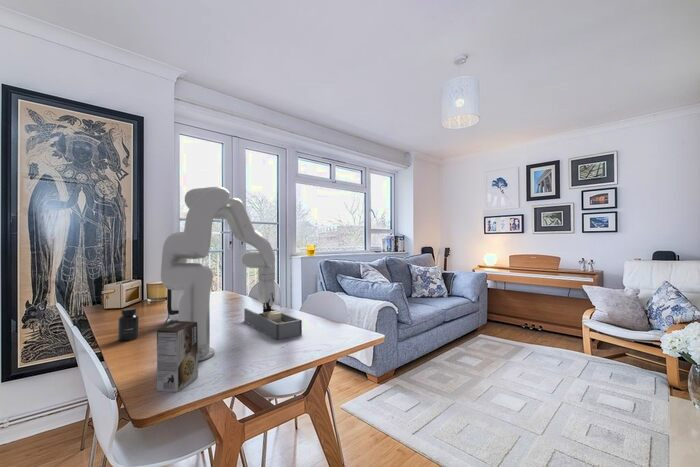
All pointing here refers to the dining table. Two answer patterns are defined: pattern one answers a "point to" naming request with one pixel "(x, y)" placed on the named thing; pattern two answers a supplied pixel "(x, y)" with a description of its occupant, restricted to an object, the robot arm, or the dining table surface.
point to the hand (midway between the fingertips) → (267, 316)
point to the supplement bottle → (128, 325)
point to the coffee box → (177, 356)
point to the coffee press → (173, 304)
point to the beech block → (273, 316)
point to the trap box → (274, 324)
